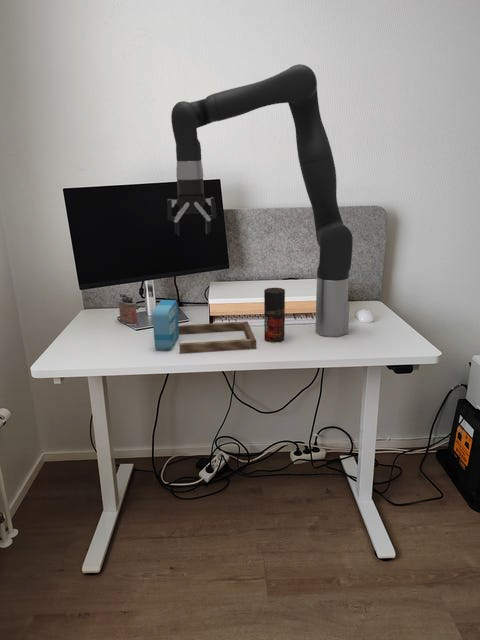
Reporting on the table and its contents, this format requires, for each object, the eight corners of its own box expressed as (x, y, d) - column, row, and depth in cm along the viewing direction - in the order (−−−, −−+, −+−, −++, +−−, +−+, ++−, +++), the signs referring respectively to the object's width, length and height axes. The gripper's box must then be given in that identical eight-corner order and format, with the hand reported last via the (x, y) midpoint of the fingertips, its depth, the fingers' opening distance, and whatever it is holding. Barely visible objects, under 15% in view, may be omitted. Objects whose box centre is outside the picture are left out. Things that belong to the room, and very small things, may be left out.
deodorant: (260, 339, 152) (260, 290, 147) (273, 334, 156) (273, 286, 151) (275, 344, 148) (276, 294, 143) (288, 338, 152) (289, 289, 147)
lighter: (140, 324, 167) (138, 295, 164) (132, 327, 165) (129, 297, 161) (126, 319, 172) (123, 290, 169) (117, 322, 170) (114, 292, 167)
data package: (170, 351, 144) (168, 310, 140) (154, 351, 145) (151, 310, 141) (179, 336, 156) (177, 298, 152) (164, 336, 156) (162, 298, 152)
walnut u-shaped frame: (247, 328, 161) (247, 321, 160) (256, 348, 145) (256, 340, 144) (178, 333, 159) (178, 325, 158) (179, 353, 143) (179, 345, 142)
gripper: (213, 176, 151) (215, 231, 156) (164, 177, 149) (168, 233, 155) (216, 177, 144) (218, 235, 149) (164, 179, 142) (168, 237, 148)
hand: (193, 234), depth 152 cm, fingers open, 8 cm apart
